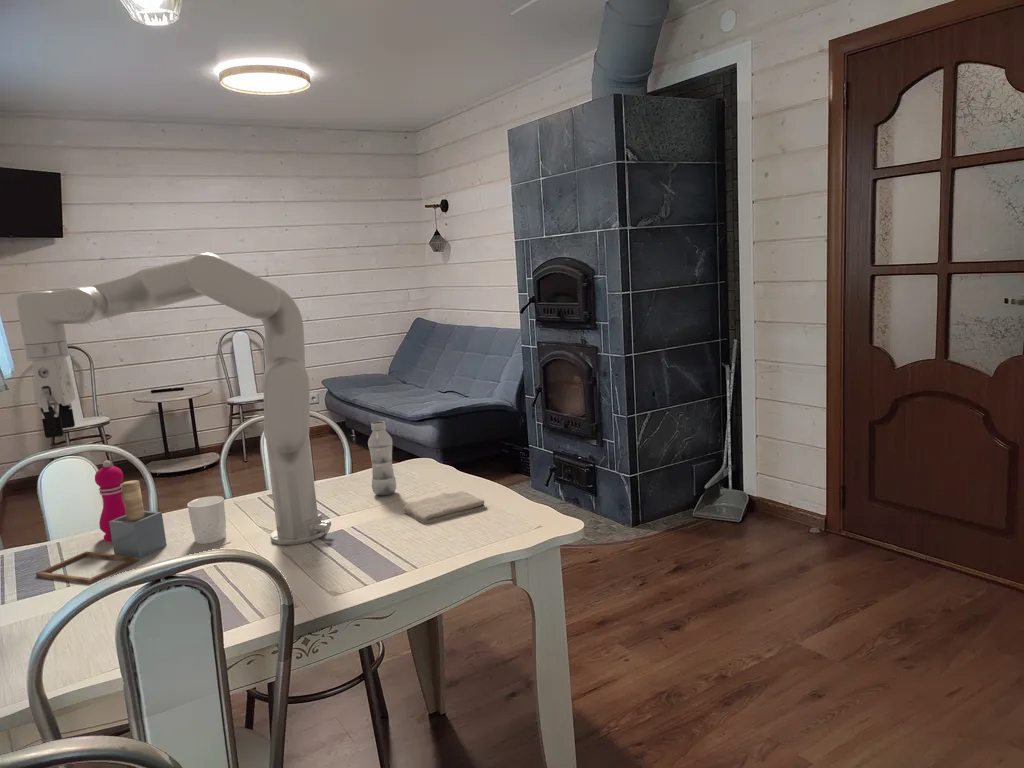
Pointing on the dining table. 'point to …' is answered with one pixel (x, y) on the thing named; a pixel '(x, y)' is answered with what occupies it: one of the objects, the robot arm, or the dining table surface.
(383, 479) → the plastic bottle
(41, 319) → the robot arm
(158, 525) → the grey hollow box
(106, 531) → the pepper mill
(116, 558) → the tray
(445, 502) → the washcloth
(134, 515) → the dowel
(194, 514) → the white cup
